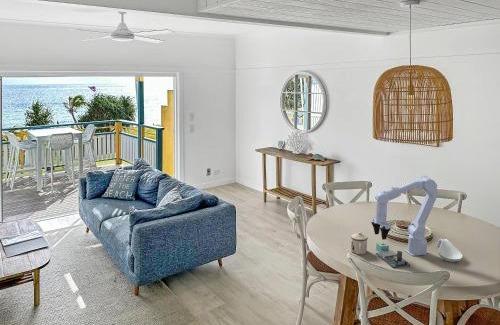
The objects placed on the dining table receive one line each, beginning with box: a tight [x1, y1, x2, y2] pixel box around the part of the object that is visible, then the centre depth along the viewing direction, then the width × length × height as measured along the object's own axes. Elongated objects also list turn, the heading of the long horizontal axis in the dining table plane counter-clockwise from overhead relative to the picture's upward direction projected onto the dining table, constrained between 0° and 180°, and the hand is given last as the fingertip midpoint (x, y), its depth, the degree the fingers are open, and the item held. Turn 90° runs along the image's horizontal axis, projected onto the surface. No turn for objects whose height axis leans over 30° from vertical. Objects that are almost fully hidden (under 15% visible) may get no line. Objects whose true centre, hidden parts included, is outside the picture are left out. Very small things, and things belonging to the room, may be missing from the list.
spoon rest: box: [436, 238, 464, 263], centre depth 219 cm, size 24×12×7 cm, turn 170°
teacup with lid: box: [350, 231, 369, 255], centre depth 224 cm, size 12×9×12 cm
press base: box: [375, 249, 411, 269], centre depth 215 cm, size 10×18×2 cm, turn 11°
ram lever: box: [393, 250, 405, 265], centre depth 209 cm, size 4×6×6 cm, turn 11°
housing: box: [375, 241, 390, 252], centre depth 227 cm, size 5×5×5 cm
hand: (380, 236), depth 223 cm, fingers open, 7 cm apart
